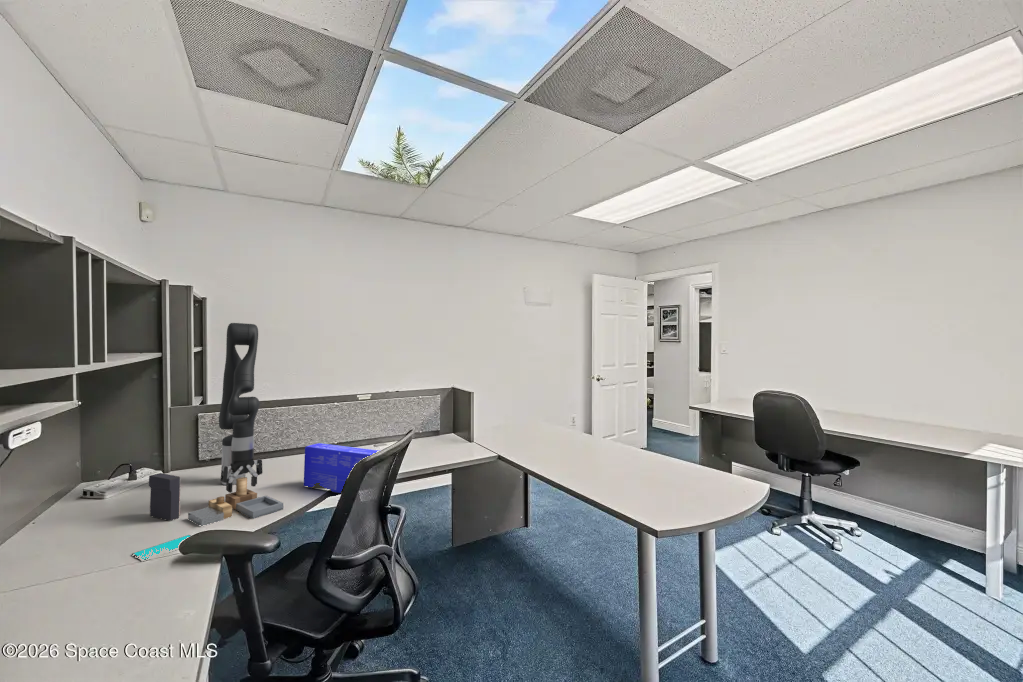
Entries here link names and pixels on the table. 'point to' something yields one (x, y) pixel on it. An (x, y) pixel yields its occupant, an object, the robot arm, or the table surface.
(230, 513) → the stop block
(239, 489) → the dowel
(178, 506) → the tall lidded box
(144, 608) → the table surface
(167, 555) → the table surface
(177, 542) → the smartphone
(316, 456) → the toner cartridge box
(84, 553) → the table surface
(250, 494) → the socket block
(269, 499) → the tray
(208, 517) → the grey rectangular block
